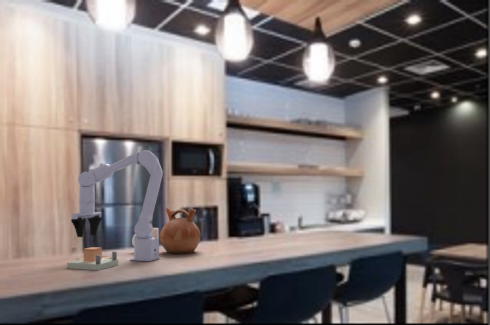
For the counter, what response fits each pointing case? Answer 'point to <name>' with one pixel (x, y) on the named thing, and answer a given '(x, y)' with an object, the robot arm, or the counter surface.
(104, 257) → the pallet
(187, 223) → the jug
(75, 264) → the dock
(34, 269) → the counter surface
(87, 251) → the orange block
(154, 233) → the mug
